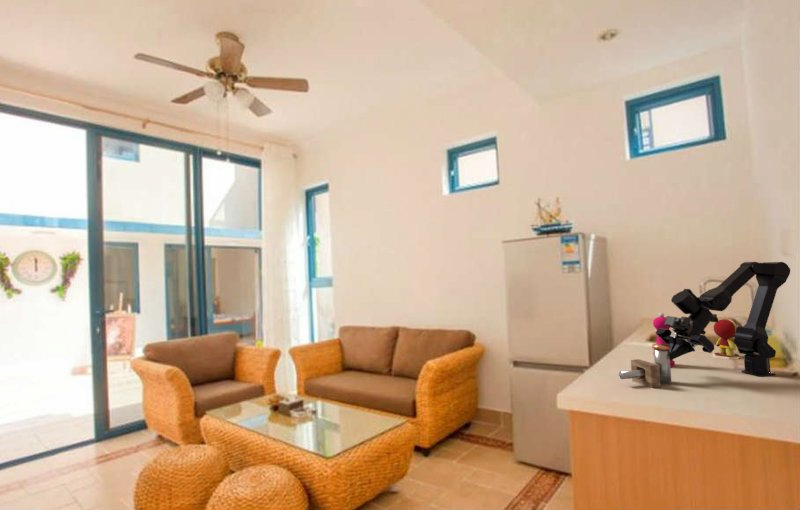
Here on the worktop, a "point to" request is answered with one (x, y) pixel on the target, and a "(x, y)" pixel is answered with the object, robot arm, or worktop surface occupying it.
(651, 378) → the tan wooden block
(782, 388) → the worktop surface
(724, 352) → the figurine
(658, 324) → the pepper mill
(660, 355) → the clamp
